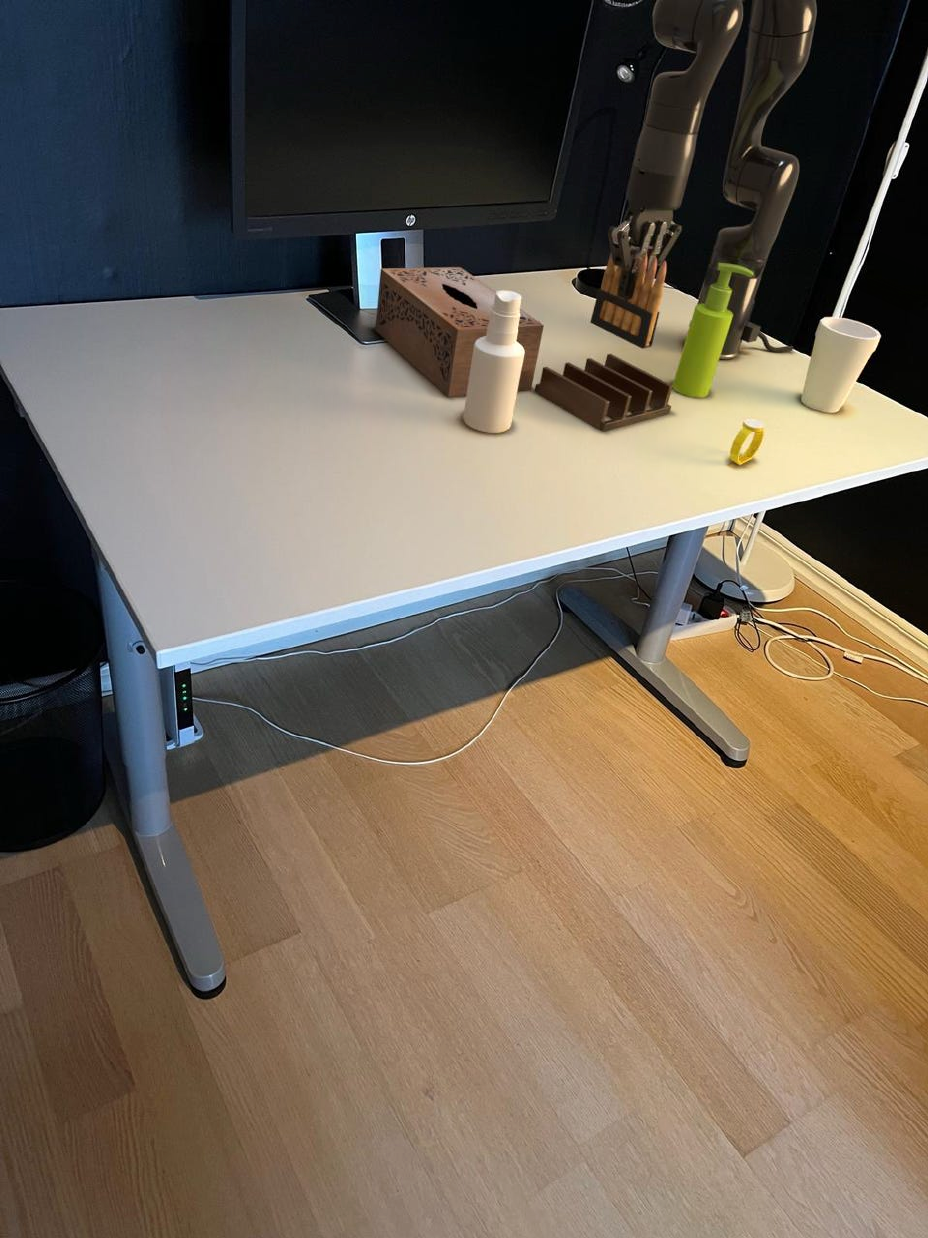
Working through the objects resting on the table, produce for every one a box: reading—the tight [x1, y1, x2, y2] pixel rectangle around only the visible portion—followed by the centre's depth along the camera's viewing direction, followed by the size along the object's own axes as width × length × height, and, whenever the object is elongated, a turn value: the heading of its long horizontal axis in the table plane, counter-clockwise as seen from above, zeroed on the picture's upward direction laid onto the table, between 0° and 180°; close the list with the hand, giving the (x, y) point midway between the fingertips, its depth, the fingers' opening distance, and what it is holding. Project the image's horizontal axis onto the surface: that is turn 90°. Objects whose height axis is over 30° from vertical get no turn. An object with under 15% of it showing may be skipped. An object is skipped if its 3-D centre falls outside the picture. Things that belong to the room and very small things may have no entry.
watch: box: [729, 418, 765, 466], centre depth 131 cm, size 6×3×6 cm, turn 133°
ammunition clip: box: [589, 253, 667, 350], centre depth 132 cm, size 11×2×12 cm, turn 40°
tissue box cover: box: [374, 266, 544, 398], centre depth 144 cm, size 26×14×10 cm, turn 29°
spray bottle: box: [462, 289, 525, 434], centre depth 125 cm, size 7×7×18 cm
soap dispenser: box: [672, 263, 754, 398], centre depth 146 cm, size 6×7×20 cm
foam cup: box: [800, 316, 882, 414], centre depth 151 cm, size 10×9×13 cm
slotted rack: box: [533, 353, 673, 432], centre depth 141 cm, size 15×15×4 cm
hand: (629, 296), depth 133 cm, fingers closed on ammunition clip, 1 cm apart
